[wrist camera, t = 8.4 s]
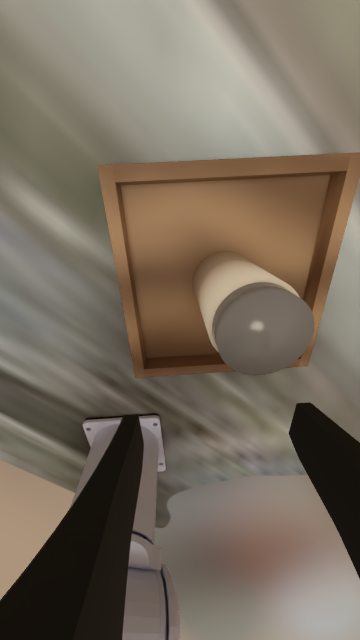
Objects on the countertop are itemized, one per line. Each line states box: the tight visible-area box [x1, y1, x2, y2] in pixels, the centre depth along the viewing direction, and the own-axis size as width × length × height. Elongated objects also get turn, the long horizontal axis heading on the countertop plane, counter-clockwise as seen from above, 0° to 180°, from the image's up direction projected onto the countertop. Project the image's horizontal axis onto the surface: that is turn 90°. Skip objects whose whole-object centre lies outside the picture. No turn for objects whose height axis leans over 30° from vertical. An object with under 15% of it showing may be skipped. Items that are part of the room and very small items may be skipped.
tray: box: [97, 153, 360, 378], centre depth 16 cm, size 15×15×2 cm
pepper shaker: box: [193, 251, 315, 375], centre depth 12 cm, size 4×4×8 cm
